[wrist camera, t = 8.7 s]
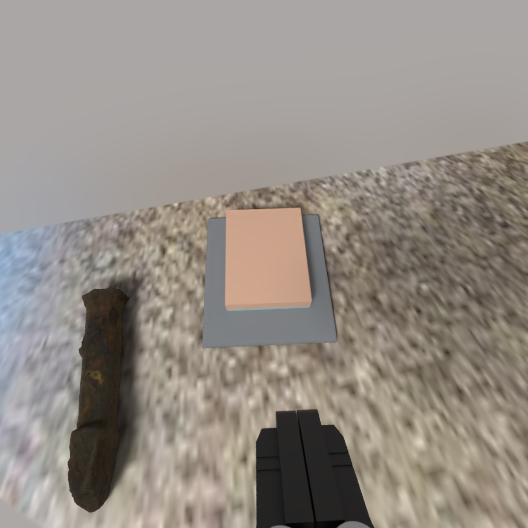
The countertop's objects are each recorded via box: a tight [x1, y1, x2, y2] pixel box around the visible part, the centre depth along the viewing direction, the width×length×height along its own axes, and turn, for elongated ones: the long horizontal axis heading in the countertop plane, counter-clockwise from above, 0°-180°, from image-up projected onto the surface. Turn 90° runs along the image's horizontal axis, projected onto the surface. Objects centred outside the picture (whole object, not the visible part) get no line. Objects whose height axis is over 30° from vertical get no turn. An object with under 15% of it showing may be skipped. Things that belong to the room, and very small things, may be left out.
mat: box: [203, 215, 337, 348], centre depth 36 cm, size 14×16×1 cm
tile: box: [225, 208, 312, 311], centre depth 35 cm, size 9×2×12 cm
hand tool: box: [68, 288, 129, 512], centre depth 28 cm, size 19×4×5 cm, turn 7°
